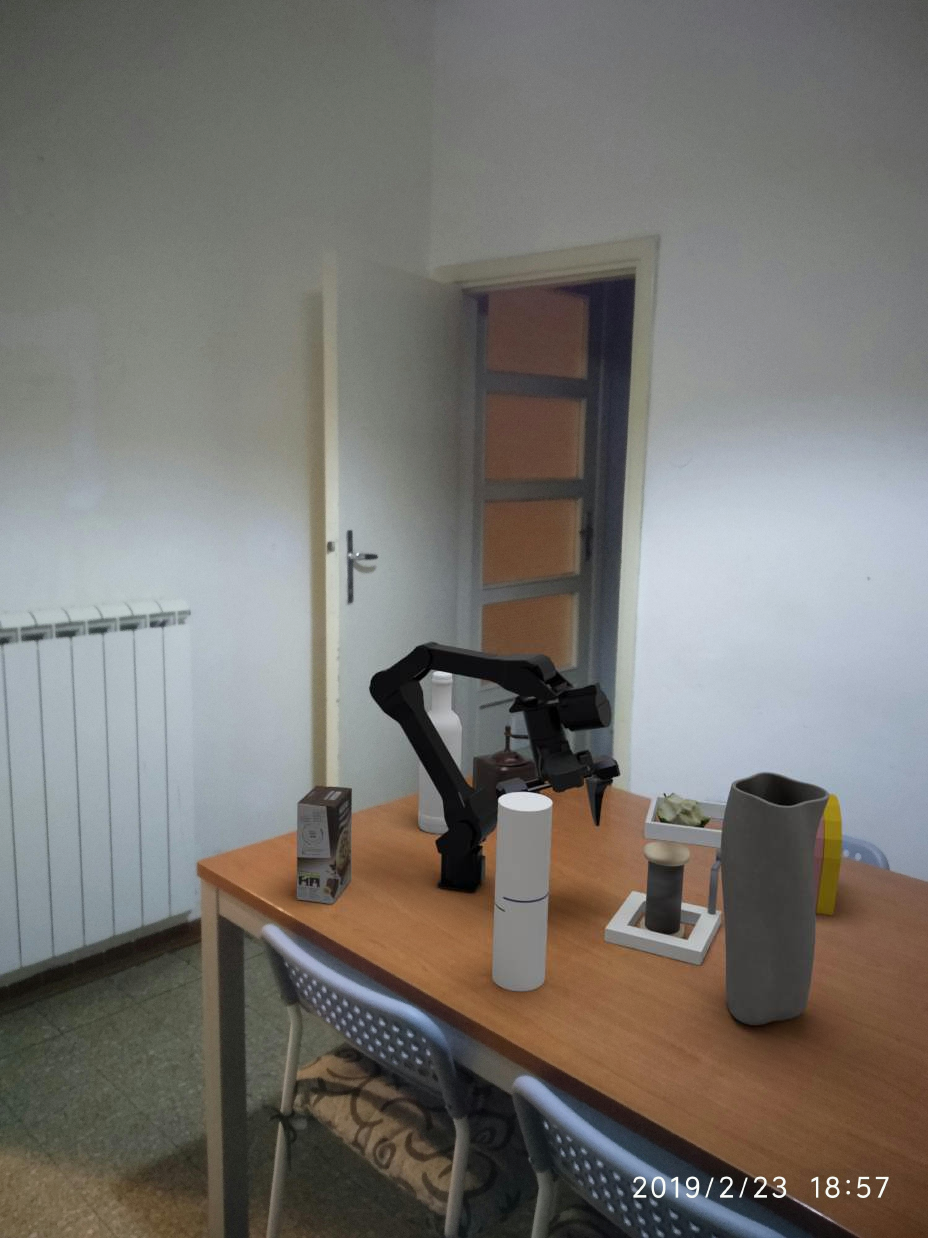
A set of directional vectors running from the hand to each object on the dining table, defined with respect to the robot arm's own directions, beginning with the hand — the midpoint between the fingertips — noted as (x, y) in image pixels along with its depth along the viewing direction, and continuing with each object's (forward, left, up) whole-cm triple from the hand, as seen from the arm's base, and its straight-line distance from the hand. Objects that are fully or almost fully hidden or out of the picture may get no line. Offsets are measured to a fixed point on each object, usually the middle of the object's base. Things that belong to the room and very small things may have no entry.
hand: (569, 833), depth 147 cm
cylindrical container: (-3, -22, -13) cm, 25 cm away
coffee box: (-38, -7, -13) cm, 41 cm away
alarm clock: (+36, +17, -13) cm, 42 cm away
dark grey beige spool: (+15, -3, -12) cm, 20 cm away
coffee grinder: (-18, +43, -13) cm, 49 cm away
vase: (+29, -20, -13) cm, 37 cm away
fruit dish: (+17, +41, -12) cm, 46 cm away
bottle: (-29, +25, -13) cm, 41 cm away
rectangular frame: (+16, -1, -12) cm, 20 cm away
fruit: (+15, +39, -13) cm, 44 cm away
